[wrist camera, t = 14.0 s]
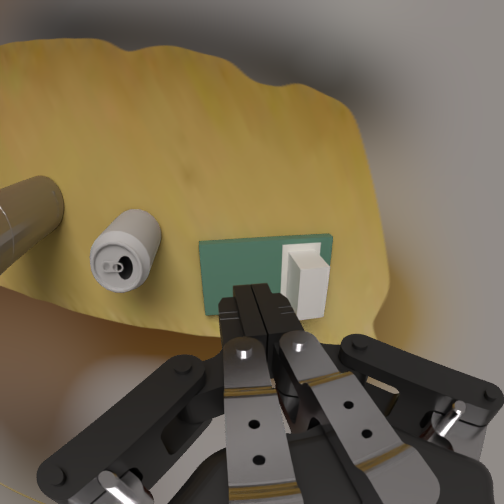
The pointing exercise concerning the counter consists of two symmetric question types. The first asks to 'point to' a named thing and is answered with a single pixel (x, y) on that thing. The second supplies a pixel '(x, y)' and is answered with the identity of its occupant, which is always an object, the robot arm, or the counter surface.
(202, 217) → the counter surface
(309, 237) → the board
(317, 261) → the block
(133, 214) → the can
